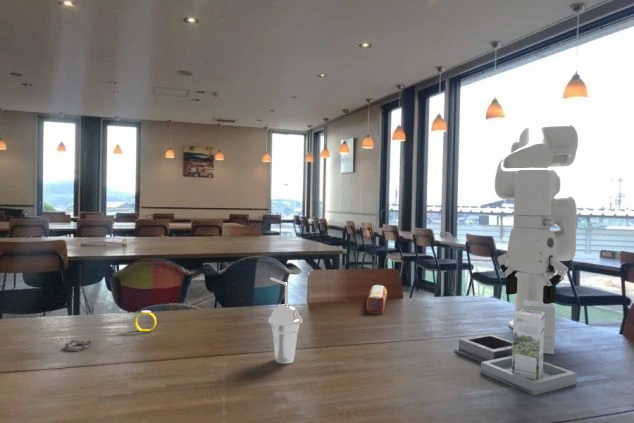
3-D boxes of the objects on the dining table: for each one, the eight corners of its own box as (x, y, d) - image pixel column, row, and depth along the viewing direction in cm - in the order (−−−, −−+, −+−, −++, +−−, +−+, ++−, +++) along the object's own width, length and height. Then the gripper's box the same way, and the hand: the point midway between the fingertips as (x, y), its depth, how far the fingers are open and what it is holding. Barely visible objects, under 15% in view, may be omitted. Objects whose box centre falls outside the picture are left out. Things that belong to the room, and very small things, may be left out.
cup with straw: (275, 368, 108) (276, 283, 107) (261, 356, 116) (262, 277, 115) (307, 363, 112) (309, 281, 111) (292, 352, 120) (293, 275, 119)
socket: (489, 345, 129) (489, 332, 128) (529, 359, 117) (530, 346, 117) (454, 351, 122) (454, 338, 122) (493, 367, 111) (494, 353, 111)
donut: (93, 353, 118) (93, 345, 118) (58, 357, 115) (58, 349, 115) (94, 343, 125) (94, 336, 125) (62, 347, 122) (62, 339, 122)
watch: (156, 330, 138) (158, 311, 138) (153, 333, 135) (155, 313, 135) (136, 329, 138) (137, 309, 137) (133, 331, 135) (134, 311, 135)
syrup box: (543, 374, 105) (545, 311, 105) (538, 382, 100) (541, 316, 100) (516, 368, 108) (518, 307, 108) (511, 376, 103) (512, 312, 103)
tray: (521, 363, 114) (521, 353, 114) (575, 384, 102) (576, 373, 102) (480, 372, 108) (481, 362, 107) (533, 395, 95) (534, 383, 95)
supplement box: (550, 346, 128) (551, 301, 128) (554, 355, 121) (555, 307, 121) (521, 343, 131) (522, 299, 130) (523, 351, 124) (525, 304, 123)
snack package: (384, 314, 162) (384, 295, 162) (365, 313, 163) (365, 294, 163) (386, 301, 183) (387, 284, 183) (370, 300, 184) (370, 284, 184)
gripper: (579, 225, 98) (576, 305, 99) (510, 220, 113) (508, 289, 114) (556, 226, 95) (553, 309, 95) (489, 221, 110) (487, 292, 111)
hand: (529, 298), depth 105 cm, fingers open, 9 cm apart
